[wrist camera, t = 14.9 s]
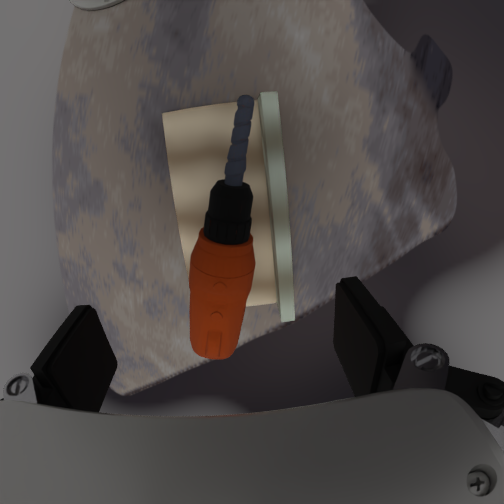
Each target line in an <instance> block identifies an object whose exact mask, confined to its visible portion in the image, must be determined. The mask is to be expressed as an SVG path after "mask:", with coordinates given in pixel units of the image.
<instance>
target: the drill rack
mask: <svg viewBox="0 0 504 504" xmlns="http://www.w3.org/2000/svg"><path fill="white" fill-rule="evenodd" d="M254 102H255V104H254V110H253V117H252V120H250V121H251V122H252V123H251V130H250V135H249V137H248V139H249V142H248V149H247V154H246V171H245V172H244V176H243V182H245V183H247V184H249V185H250V188H251V191H252V193H253V196H254V197H253V203H252V209H251V218H252V224H251V230H250V233H251V235H252V236H253V249H254V255H255V262H256V265H255V270H254V276H253V282H252V287H251V291H250V294H249V296H248V298H247V301H246V306H254V305H263V304H271V303H277V306H278V310H279V314H280V318H281V322H286V321H294V320H295V312H294V289H293V270H292V253H291V237H290V223H289V209H288V196H287V184H286V172H285V161H284V151H283V140H282V131H281V121H280V112H279V103H278V94H277V92H261V93H260V95H259V97H258V100H254ZM237 109H238V106H237V102H230V103H221V104H214V105H207V106H200V107H194V108H188V109H182V110H177V111H171V112H166V113H162V116H163V125H164V134H165V142H166V150H167V157H168V164H169V171H170V178H171V185H172V191H173V198H174V204H175V210H176V216H177V221H178V227H179V233H180V238H181V244H182V249H183V254H184V259H185V264H186V269H187V274H188V279H189V270H190V256H191V253H192V251H193V248H194V246H195V244H196V241H197V239H198V236H199V231H200V230H201V228H203V227H204V221H205V214H206V212H207V211H208V206H209V198H210V191H211V189H212V188H213V186H214V185H215V183H216V182H217V181H218V180H222V179H225V174H224V171H225V166H226V163H227V162H228V159H227V156H228V152H229V148H230V145H232V143H231V136H232V130H233V128H234V127H235V126H234V117H235V112H236V111H237Z"/></svg>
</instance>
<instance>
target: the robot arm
mask: <svg viewBox="0 0 504 504" xmlns="http://www.w3.org/2000/svg"><path fill="white" fill-rule="evenodd" d="M69 1H70V2H71V3H72V4H73V5H74V6H76V7H78V8H80V9H83V10H98V9H104V8H107V7H110V6H113V5H115V4H117V3H120V2H122V1H123V0H69ZM333 343H334V348H335V351H336V353H337V356H338V358H339V360H340V363H341V365H342V367H343V370H344V372H345V374H346V377H347V379H348V381H349V384H350V386H351V389H352V390H353V393H354V396H355V397H353V398H348V399H342V400H337V401H332V402H327V403H321V404H316V405H310V406H303V407H296V408H290V409H282V410H275V411H266V412H257V413H248V414H247V413H246V414H234V415H218V416H217V415H216V416H138V415H122V414H110V413H99V411H100V408H101V406H102V403H103V400H104V398H105V395H106V393H107V390H108V388H109V386H110V383H111V381H112V378H113V376H114V374H115V371H116V369H117V360H116V357H115V355H114V353H113V351H112V348H111V346H110V344H109V342H108V339H107V337H106V334H105V332H104V330H103V327H102V325H101V322H100V320H99V317H98V315H97V312H96V310H95V309H94V308H92V307H91V306H90V305H79V306H76V307H75V308H74V310H73V311H72V312H71V313H70V315H69V316H68V317H67V319H66V320H65V321H64V322H63V324H62V325H61V326H60V327H59V329H58V330H57V331H56V333H55V334H54V335H53V337H52V338H51V339H50V341H49V342H48V343H47V345H46V346H45V348H44V349H43V350H42V352H41V353H40V355H39V356H38V357H37V359H36V360H35V362H34V363H33V365H32V366H31V370H32V372H33V373H34V377H33V378H32V377H31V375H29V374H27V373H20V374H17V375H15V376H13V377H12V378H10V379H9V380H8V381H7V383H6V384H5V386H4V390H3V395H4V398H3V399H1V400H0V504H504V382H503V381H501V380H500V379H498V378H495V377H491V376H487V375H483V374H479V373H475V372H471V371H467V370H464V369H460V368H456V367H452V366H449V357H448V354H447V353H446V352H445V351H444V350H443V349H442V348H440V347H439V346H436V345H433V344H427V343H423V344H417V345H415V346H413V345H412V343H411V342H410V340H409V339H408V338H407V336H406V335H405V334H404V332H403V331H402V330H401V329H400V327H399V326H398V325H397V323H396V322H395V321H394V320H393V318H392V317H391V316H390V314H389V313H388V312H387V311H386V309H385V308H384V307H382V306H380V305H379V304H378V302H377V301H376V300H375V299H374V297H373V296H372V295H371V294H370V292H369V291H368V290H367V289H366V287H365V286H364V285H363V284H362V282H361V281H360V280H359V279H358V277H356V276H355V277H348V278H342V279H341V281H340V283H337V284H336V297H335V320H334V338H333Z"/></svg>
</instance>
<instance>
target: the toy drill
mask: <svg viewBox="0 0 504 504" xmlns="http://www.w3.org/2000/svg"><path fill="white" fill-rule="evenodd" d="M254 104H255V102H254V99H253V98H252V97H251V96H249V95H242V96H240V97H239V98H238V100H237V106H238V109H237V111H236V112H235V117H234V126H235V127H234V128H233V130H232V136H231V143H232V145H230V148H229V152H228V156H227V159H228V162H227V163H226V166H225V171H224V174H225V179H222V180H218V181H217V182H216V183H215V185H214V186H213V188H212V189H211V191H210V198H209V206H208V211H207V212H206V214H205V221H204V227H203V228H201V230H200V231H199V236H198V239H197V241H196V244H195V246H194V248H193V251H192V253H191V256H190V270H189V287H190V341H191V345H192V348H193V350H194V352H195V353H196V354H198V355H199V356H201V357H205V358H209V359H225V358H228V357H229V356H231V354H232V353H233V352H234V350H235V348H236V346H237V344H238V339H239V335H240V330H241V325H242V321H243V317H244V312H245V308H246V301H247V298H248V296H249V294H250V291H251V287H252V282H253V276H254V270H255V265H256V262H255V255H254V249H253V236H252V235H251V233H250V230H251V224H252V218H251V209H252V203H253V197H254V196H253V193H252V191H251V188H250V185H249V184H247V183H245V182H243V176H244V172H245V171H246V154H247V149H248V142H249V139H248V137H249V135H250V130H251V123H252V122H251V121H250V120H252V117H253V110H254Z"/></svg>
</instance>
